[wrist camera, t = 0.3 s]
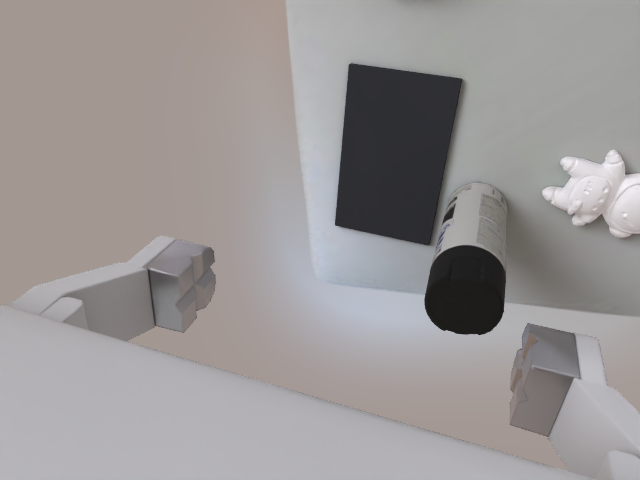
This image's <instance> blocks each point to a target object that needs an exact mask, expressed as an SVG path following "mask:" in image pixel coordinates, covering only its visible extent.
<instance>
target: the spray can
mask: <svg viewBox="0 0 640 480" xmlns="http://www.w3.org/2000/svg"><path fill="white" fill-rule="evenodd" d="M506 241H507V205H506V201H505V199H504V197H503V196H502V194H501V193H500V191H498V190H497V189H495V188H494V187H492V186H490V185H488V184H483V183H479V182H476V183H470V184H467V185H464V186H462V187H460V188H459V189H458V190H456V191H455V192H454V193H453V194H452V195H451V197H450V199H449V201H448V204H447V208H446V211H445V215H444V220H443V223H442V228H441V232H440V236H439V239H438V243H437V247H436V251H435V255H434V259H433V262H432V266H431V270H430V275H429V280H428V285H427V290H426V294H425V309H426V312H427V314H428V316H429V317H430V319H431V321H432V322H433V323H434V324H435V325H436V326H437V327H439V328H440V329H441V330H443V331H445V330H448V331H452V332H455V333H457V334H478V335H482V334H485V333H487V332H490V331H491V330H492V329H493V328H494V327H495V326H496V325H497V324H498V323H499V322H500V320H501V318H502V315H503V312H504V298H505V284H506Z"/></svg>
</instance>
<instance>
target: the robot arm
mask: <svg viewBox="0 0 640 480" xmlns="http://www.w3.org/2000/svg"><path fill="white" fill-rule="evenodd" d="M214 262H215V260H214V251H213V250H212V249H211V248H210V247H207V246H202V245H199V244H195V243H191V242H187V241H183V240H180V239H176V238H171V237H167V236H158V237H157V238H155V239H154V240H153V241H152V242H151V243H149V244H148V245H147V246H146V247H145V248H143V249H142V250H141V251H140V252H139V253H137V254H136V255H135V256H134V257H133V258H131V259H130V260H129V261H128V262H127V263H121V262H120V263H116V264H112V265H109V266H105V267H102V268H98V269H94V270H91V271H87V272H84V273H80V274H77V275H73V276H69V277H66V278H62V279H58V280H55V281H51V282H47V283H44V284H40V285H36V286H34V287H33V288H32V289H31V290H29V291H28V292H26V293H25V294H23V295H22V296H21V297H19V298H18V299H16V300H15V301H14V302H12V303H11V304H10V305H8V306H5V305H1V304H0V480H640V413H639V412H638V411H637V410H636V409H635V408H634V407H633V406H632V405H631V404H630V403H629V402H628V401H627V400H626V399H625V398H624V397H623V396H622V395H621V394H620V393H619V392H618V391H617V390H616V389H615V388H612V387H608V384H607V379H606V374H605V369H604V364H603V359H602V354H601V349H600V344H599V340H598V339H597V338H596V337H592V336H586V335H582V334H576V333H570V332H565V331H560V330H556V329H552V328H547V327H543V326H538V325H534V324H530V323H528V324H527V326H526V327H525V330H524V333H523V336H522V349H520V350H518V351H517V354H516V357H515V360H514V364H513V368H512V374H511V385H510V389H511V391H512V392H513V396H512V399H511V402H510V425H512V426H515V427H518V428H521V429H525V430H528V431H531V432H535V433H538V434H541V435H544V436H547V437H549V438H548V439H549V441H550V442H551V443H552V445H553V447H554V449H555V450H556V452H557V454H558V455H559V457H560V458H561V460H562V462H563V463H564V465H565V466H566V468H567V470H568V471H565V470H562V469H558V468H555V467H551V466H548V465H545V464H541V463H538V462H535V461H531V460H528V459H524V458H521V457H518V456H514V455H511V454H508V453H504V452H501V451H498V450H494V449H491V448H487V447H484V446H480V445H477V444H474V443H470V442H467V441H464V440H460V439H456V438H453V437H450V436H447V435H443V434H440V433H436V432H433V431H430V430H426V429H423V428H419V427H416V426H413V425H409V424H406V423H402V422H399V421H396V420H392V419H389V418H385V417H382V416H379V415H375V414H371V413H368V412H365V411H362V410H358V409H354V408H351V407H348V406H345V405H341V404H338V403H334V402H331V401H327V400H324V399H321V398H317V397H314V396H310V395H307V394H304V393H300V392H297V391H294V390H290V389H287V388H283V387H280V386H277V385H273V384H270V383H266V382H263V381H259V380H256V379H253V378H249V377H246V376H243V375H239V374H236V373H233V372H229V371H226V370H222V369H219V368H215V367H212V366H209V365H205V364H201V363H198V362H195V361H192V360H188V359H185V358H181V357H178V356H175V355H171V354H168V353H164V352H161V351H158V350H154V349H151V348H148V347H144V346H141V345H137V344H134V343H131V342H127V341H128V340H130V339H132V338H134V337H136V336H138V335H140V334H142V333H144V332H146V331H148V330H150V329H152V328H154V327H155V326H158V327H162V328H166V329H170V330H174V331H178V332H182V333H184V332H185V331H186V330H187V329H188V327H189V326H190V325H191V324H192V323H193V322H194V320H195V319H196V318H197V315H196V311H198V310H200V309H203V308H205V307H206V306H207V305H208V303H209V302H210V301H211V298H212V295H213V294H214V291H215V284H216V280H215V274H214V273H213V271H212V270H211V268H210V266H211V265H212V264H213V263H214Z"/></svg>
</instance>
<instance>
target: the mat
mask: <svg viewBox="0 0 640 480" xmlns="http://www.w3.org/2000/svg"><path fill="white" fill-rule="evenodd" d="M461 82H462V79H460V78H453V77H445V76H438V75H431V74H424V73H416V72H409V71H402V70H395V69H387V68H380V67H373V66H366V65H358V64H349V70H348V82H347V93H346V105H345V116H344V128H343V139H342V151H341V162H340V174H339V185H338V197H337V208H336V220H335V226H340V227H345V228H349V229H354V230H359V231H363V232H368V233H373V234H378V235H382V236H387V237H392V238H396V239H401V240H406V241H410V242H415V243H420V244H424V245H429V244H430V240H431V234H432V229H433V224H434V219H435V214H436V209H437V204H438V199H439V194H440V189H441V184H442V179H443V173H444V168H445V163H446V158H447V153H448V148H449V143H450V138H451V133H452V128H453V123H454V118H455V113H456V107H457V102H458V97H459V92H460V87H461Z"/></svg>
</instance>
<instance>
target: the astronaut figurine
mask: <svg viewBox="0 0 640 480" xmlns="http://www.w3.org/2000/svg"><path fill="white" fill-rule="evenodd" d="M560 164H561V166H562V167H563V169H564V170H565V171H568V174H569V175H570V176H571V178H570V179H569V180H568V182H567V183H566V185H565V186H564V187H555V186H549V187H546V188H544V189H543V191H542V196H543V197H544V198H545V199H546V200H547V201H550V202H551V204H552V205H554V206H556V207H558V208H560V209H563V210H566V211H568V214H570V215H571V214H573V213H575V214H574V216H573V218H572V223H573V224H574V225H575V226H582V225H585V224H586V223H591V222H592V221H593V220H595V219H596V218H597V217H598V216H600V215H601V214H602V215H603V217H604V219H605V221H606V223H607V224H608V225H609V230H610V232H611V233H612V234H613V235H614V236H616V237H619V238H625V237H629V236H630V235H631V234H639V233H640V173H635V174H629V175H626V174H625V165H624V161H623V160H622V157H621V156H620V155H619V154H618V152H617V151H616V150H611V151H609V152H608V154H607V155H606V158H605V162H604V163H602V164H598V163H595V162H591V161H588V160H587V159H582V158H577V157H564V158H562V160H561V162H560Z"/></svg>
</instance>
